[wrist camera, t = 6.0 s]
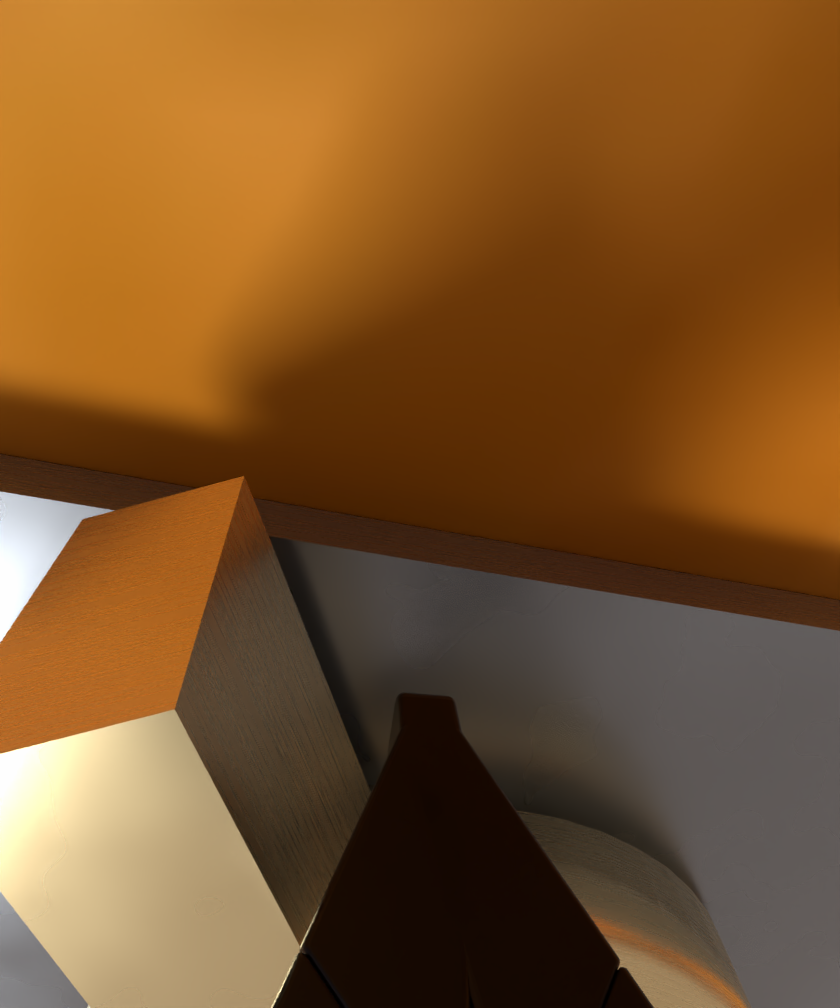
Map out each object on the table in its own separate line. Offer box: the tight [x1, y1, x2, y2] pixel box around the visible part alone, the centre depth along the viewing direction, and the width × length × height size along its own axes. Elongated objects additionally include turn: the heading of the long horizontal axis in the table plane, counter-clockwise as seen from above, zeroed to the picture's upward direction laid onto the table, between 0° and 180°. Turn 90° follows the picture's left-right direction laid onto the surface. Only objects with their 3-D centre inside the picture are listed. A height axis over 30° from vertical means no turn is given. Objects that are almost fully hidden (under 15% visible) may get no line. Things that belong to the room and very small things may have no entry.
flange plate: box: [0, 454, 840, 1008], centre depth 16 cm, size 20×20×1 cm
